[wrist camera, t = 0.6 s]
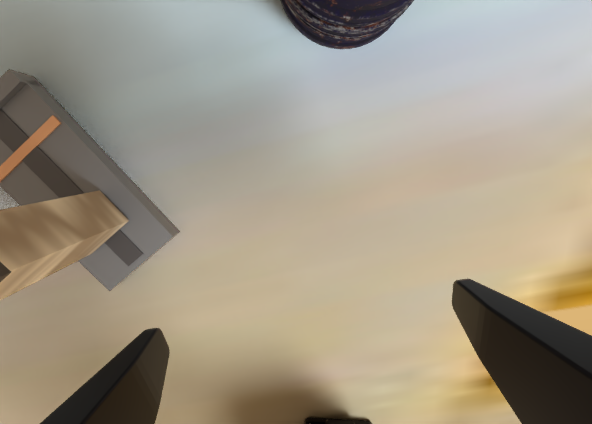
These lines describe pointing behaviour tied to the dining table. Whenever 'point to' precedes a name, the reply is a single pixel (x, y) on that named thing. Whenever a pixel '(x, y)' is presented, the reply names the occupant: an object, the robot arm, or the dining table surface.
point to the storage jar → (344, 20)
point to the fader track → (73, 175)
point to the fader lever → (52, 236)
